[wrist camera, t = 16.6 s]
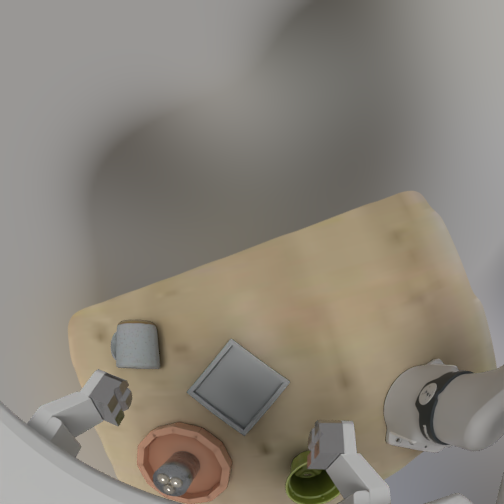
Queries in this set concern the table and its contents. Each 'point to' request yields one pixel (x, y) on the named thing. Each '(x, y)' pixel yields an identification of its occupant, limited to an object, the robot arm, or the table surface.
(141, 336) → the ceramic mug
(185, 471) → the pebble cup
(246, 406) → the parts tray
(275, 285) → the table surface
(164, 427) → the terracotta bowl
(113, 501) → the robot arm
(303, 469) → the plant pot
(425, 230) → the table surface
